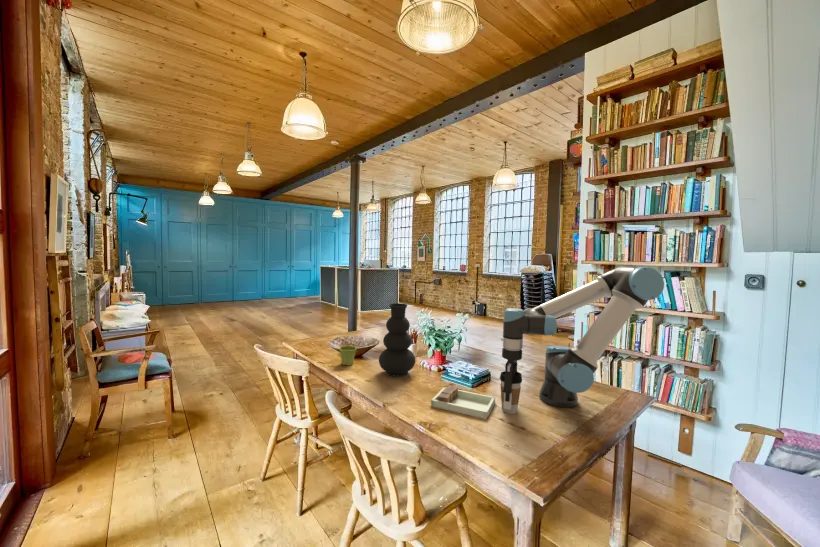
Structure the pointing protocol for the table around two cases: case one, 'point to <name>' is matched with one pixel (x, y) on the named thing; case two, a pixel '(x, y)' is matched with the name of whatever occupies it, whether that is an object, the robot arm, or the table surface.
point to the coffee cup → (515, 392)
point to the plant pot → (347, 354)
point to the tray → (467, 404)
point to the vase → (397, 343)
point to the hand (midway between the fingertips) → (509, 403)
